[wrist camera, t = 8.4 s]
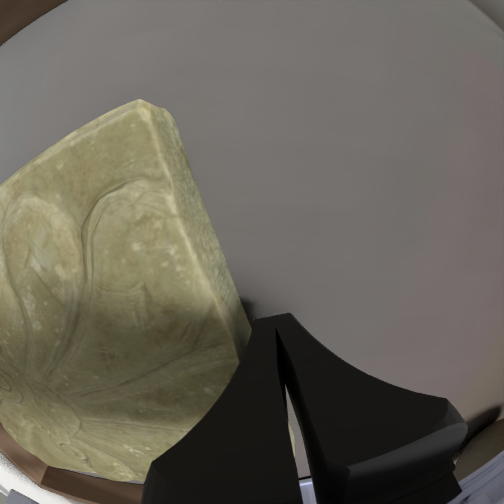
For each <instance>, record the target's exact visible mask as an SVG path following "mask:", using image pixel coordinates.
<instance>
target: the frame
mask: <svg viewBox="0 0 504 504" xmlns="http://www.w3.org/2000/svg"><path fill="white" fill-rule="evenodd" d="M65 1H67V0H0V45H2V44H3V43H4V42H5V41H7V40H8V39H9V38H10V37H12V36H13V35H14V34H16V33H17V32H18V31H20V30H21V29H22V28H24V27H25V26H27V25H28V24H29V23H31V22H32V21H34V20H35V19H37V18H38V17H40V16H41V15H43V14H45V13H46V12H48V11H49V10H51V9H53V8H54V7H56V6H58V5H60V4H61V3H63V2H65ZM0 452H1V453H2V454H3V455H4V456H5V457H6V458H7V459H8V460H9V461H10V462H11V463H12V464H13V465H14V466H16V467H17V468H18V469H19V470H20V471H21V472H22V473H23V474H25V475H26V476H27V477H28V478H29V479H30V480H32V481H33V482H34V483H35V484H37V485H38V486H39V487H40V488H43V489H45V490H48V491H50V492H53V493H56V494H58V495H61V496H64V497H67V498H70V499H73V500H76V501H79V502H82V503H86V504H141V498H142V493H143V487H144V485H139V484H131V483H124V482H118V481H112V480H106V479H101V478H96V477H92V476H87V475H83V474H79V473H75V472H71V471H68V470H64V469H61V468H56V467H52V466H49V465H47V464H46V463H44V462H43V461H42V460H41V459H39V458H38V457H37V456H36V455H33V454H32V453H30V452H29V451H27V450H25V449H24V448H23V447H22V446H21V445H19V444H18V443H17V442H16V441H15V440H14V439H13V438H12V437H11V436H10V434H9V433H8V432H7V431H6V430H5V428H4V427H3V425H2V423H1V422H0Z"/></svg>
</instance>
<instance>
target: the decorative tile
mask: <svg viewBox="0 0 504 504" xmlns="http://www.w3.org/2000/svg"><path fill="white" fill-rule="evenodd" d="M251 331H252V329H251V326H250V324H249V321H248V319H247V316H246V314H245V311H244V309H243V306H242V304H241V301H240V299H239V296H238V293H237V291H236V288H235V286H234V283H233V280H232V278H231V275H230V272H229V269H228V267H227V264H226V261H225V259H224V256H223V253H222V251H221V248H220V245H219V242H218V240H217V237H216V235H215V232H214V230H213V227H212V225H211V222H210V219H209V217H208V214H207V211H206V209H205V206H204V204H203V201H202V198H201V195H200V193H199V190H198V187H197V184H196V182H195V179H194V176H193V173H192V170H191V168H190V165H189V162H188V159H187V156H186V153H185V150H184V147H183V144H182V141H181V138H180V136H179V132H178V129H177V126H176V124H175V121H174V119H173V117H172V116H171V115H170V114H169V113H168V112H167V111H166V110H165V109H164V108H160V107H156V106H154V105H152V104H150V103H148V102H145V101H143V100H141V99H138V100H135V101H132V102H130V103H127V104H125V105H122V106H120V107H118V108H116V109H114V110H112V111H110V112H108V113H106V114H104V115H102V116H100V117H98V118H96V119H95V120H93V121H91V122H89V123H88V124H86V125H84V126H82V127H81V128H79V129H77V130H75V131H74V132H72V133H70V134H69V135H67V136H66V137H64V138H63V139H61V140H60V141H58V142H57V143H55V144H54V145H52V146H51V147H50V148H48V149H47V150H45V151H44V152H42V153H41V154H39V155H38V156H37V157H35V158H34V159H33V160H31V161H30V162H29V163H27V164H26V165H25V166H23V167H22V168H21V169H19V170H18V171H17V172H16V173H14V174H13V175H12V176H11V177H9V178H8V179H7V180H6V181H4V182H3V183H2V184H1V185H0V422H1V423H2V425H3V427H4V428H5V430H6V431H7V432H8V433H9V434H10V436H11V437H12V438H13V439H14V440H15V441H16V442H17V443H18V444H19V445H21V446H22V447H23V448H24V449H25V450H27V451H29V452H30V453H32V454H33V455H36V456H37V457H38V458H39V459H41V460H42V461H43V462H44V463H46V464H47V465H49V466H52V467H56V468H64V469H72V470H77V471H83V472H92V473H97V474H99V475H101V476H103V477H105V478H107V479H110V480H113V481H129V480H140V481H143V482H145V479H146V476H147V473H148V471H149V468H150V465H151V462H152V461H153V460H155V459H156V458H158V457H159V456H160V455H162V454H163V453H164V452H166V451H167V450H168V449H169V448H171V447H172V446H173V445H175V444H176V443H177V442H178V441H179V440H181V439H182V438H183V437H184V436H185V435H186V434H187V433H188V432H189V431H190V430H191V429H192V428H193V427H194V426H195V425H196V424H197V423H198V422H199V421H200V420H201V419H202V418H203V417H204V416H205V414H206V413H207V412H208V411H209V410H210V408H211V407H212V406H213V404H214V403H215V402H216V401H217V399H218V398H219V397H220V395H221V394H222V392H223V391H224V389H225V388H226V386H227V385H228V383H229V381H230V380H231V378H232V376H233V374H234V372H235V370H236V368H237V366H238V364H239V362H240V360H241V358H242V356H243V354H244V351H245V349H246V346H247V344H248V341H249V338H250V335H251ZM288 423H289V421H288ZM289 432H290V437H291V442H292V447H293V452H294V457H295V444H294V434H293V431H292V429H291V426H290V424H289Z"/></svg>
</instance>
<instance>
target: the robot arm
mask: <svg viewBox="0 0 504 504" xmlns="http://www.w3.org/2000/svg"><path fill="white" fill-rule="evenodd" d="M285 384H286V387H287V391H288V394H289V397H290V400H291V403H292V406H293V409H294V412H295V415H296V418H297V421H298V424H299V427H300V430H301V433H302V437H303V441H304V445H305V450H306V455H307V459H308V464H309V469H310V474H311V478H309V479H304V480H299V478H298V473H297V467H296V462H295V457H294V452H293V447H292V442H291V437H290V432H289V423H288V411H287V400H286V389H285ZM467 429H468V425H467V424H466V422H465V421H464V420H463V418H462V417H461V415H460V414H459V412H458V411H457V410H456V408H455V407H454V406H453V405H452V404H451V403H450V402H449V401H448V399H446V398H441V397H436V396H431V395H426V394H422V393H417V392H413V391H410V390H407V389H403V388H400V387H397V386H394V385H392V384H389V383H386V382H384V381H382V380H380V379H377V378H375V377H373V376H370V375H368V374H366V373H364V372H362V371H361V370H359V369H357V368H355V367H354V366H352V365H350V364H349V363H347V362H345V361H344V360H342V359H341V358H339V357H338V356H337V355H335V354H334V353H333V352H331V351H330V350H329V349H327V348H326V347H325V346H324V345H322V344H321V343H320V342H319V341H318V340H317V339H315V338H314V337H313V336H312V335H311V334H310V333H309V332H308V331H307V330H306V329H305V328H304V327H303V326H302V325H301V324H300V323H299V322H298V321H297V319H296V318H295V317H294V316H293V315H292V314H291V313H286V314H281V315H276V316H271V317H266V318H260V319H256V320H255V321H254V322H253V327H252V331H251V335H250V338H249V341H248V344H247V346H246V349H245V351H244V354H243V356H242V358H241V360H240V362H239V364H238V366H237V368H236V370H235V372H234V374H233V376H232V378H231V380H230V381H229V383H228V385H227V386H226V388H225V389H224V391H223V392H222V394H221V395H220V397H219V398H218V399H217V401H216V402H215V403H214V404H213V406H212V407H211V408H210V410H209V411H208V412H207V413H206V414H205V416H204V417H203V418H202V419H201V420H200V421H199V422H198V423H197V424H196V425H195V426H194V427H193V428H192V429H191V430H190V431H189V432H188V433H187V434H186V435H185V436H184V437H183V438H182V439H181V440H179V441H178V442H177V443H176V444H175V445H173V446H172V447H171V448H169V449H168V450H167V451H166V452H164V453H163V454H162V455H160V456H159V457H158V458H156V459H155V460H153V461H152V462H151V465H150V468H149V471H148V473H147V476H146V479H145V482H144V487H143V493H142V498H141V504H460V503H461V502H462V503H461V504H504V450H503V451H502V452H501V453H499V454H498V455H497V456H496V457H494V458H493V459H492V460H490V461H489V462H488V463H486V464H485V465H483V466H482V467H481V468H479V469H478V470H476V471H475V472H473V473H472V474H470V475H469V476H467V477H466V478H464V479H462V480H461V481H459V482H458V481H457V480H456V478H455V476H454V474H453V471H454V470H455V469H456V468H455V464H454V463H453V461H452V459H451V457H452V456H453V455H454V453H455V452H456V450H457V449H458V448H459V446H460V445H461V443H462V442H463V440H464V438H465V436H466V434H467ZM5 504H39V503H37V502H36V501H34V500H32V499H30V498H29V497H27V496H25V495H23V494H21V493H19V492H17V491H15V490H13V489H11V490H10V493H9V495H8V497H7V500H6V503H5Z"/></svg>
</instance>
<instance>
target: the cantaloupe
mask: <svg viewBox="0 0 504 504" xmlns="http://www.w3.org/2000/svg"><path fill="white" fill-rule="evenodd" d="M503 450H504V418H503V419H501V420H498V421H496V422H494V423H493V424H491V425H489V426H488V427H486V428H485V429H483V430H482V431H481V432H479V433H478V434H477V435H476V436H474V437H473V438H472V439H471V440H470V441H469V443H468V444H467V446H466V447H465V449H464V450H463V452H462V453H461V455H460V457H459V458H458V460H457V462H456V464H455V468H456V469H455V470H454V471H453V474H454V476H455V478H456V480H457V481H458V482H459V481H461V480H462V479H464V478H466V477H467V476H469V475H470V474H472V473H473V472H475V471H476V470H478V469H479V468H481V467H482V466H483V465H485V464H486V463H488V462H489V461H490V460H492V459H493V458H494V457H496V456H497V455H498V454H499V453H501V452H502V451H503ZM461 503H462V502H461ZM461 503H460V504H461Z"/></svg>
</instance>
